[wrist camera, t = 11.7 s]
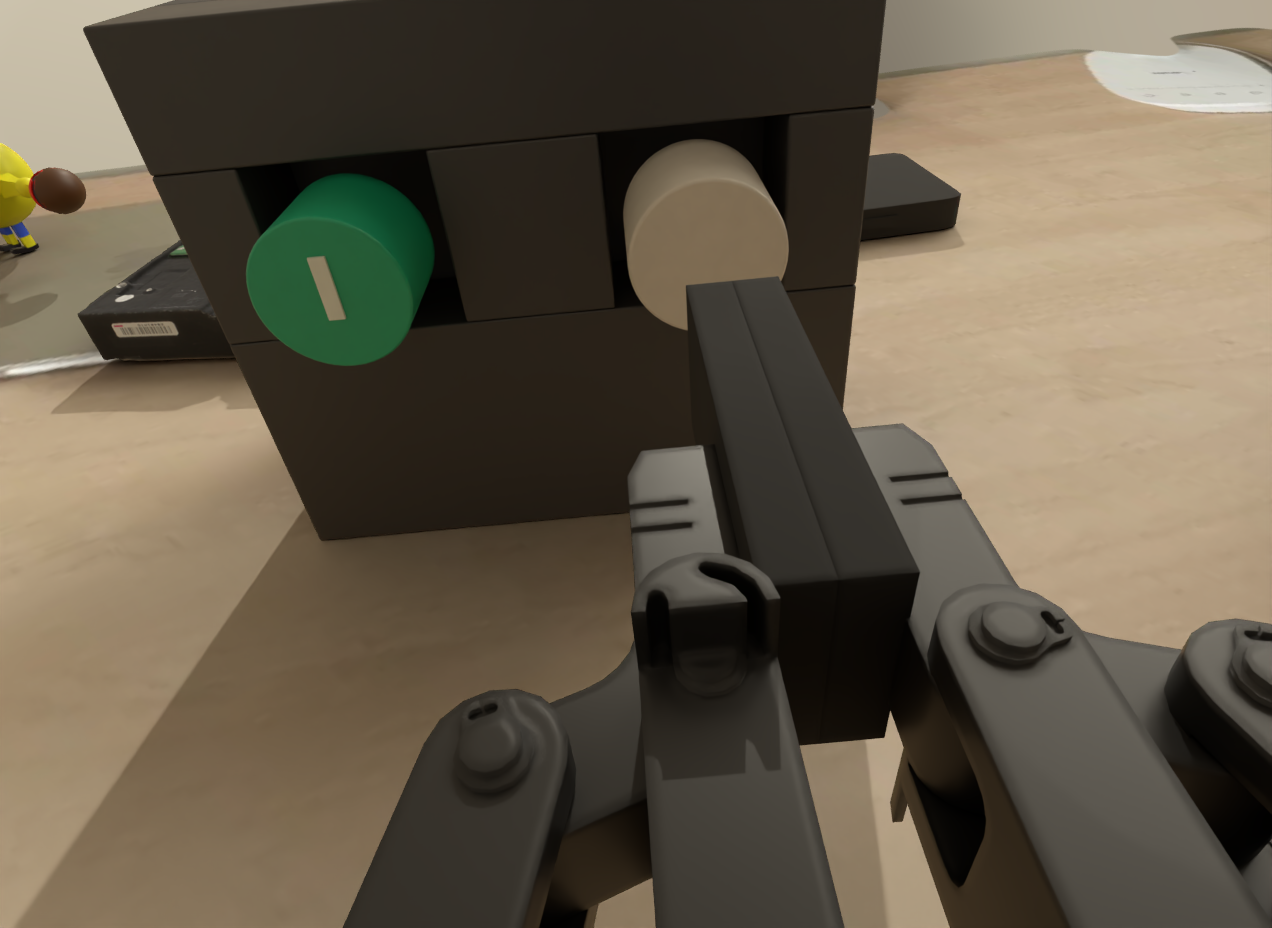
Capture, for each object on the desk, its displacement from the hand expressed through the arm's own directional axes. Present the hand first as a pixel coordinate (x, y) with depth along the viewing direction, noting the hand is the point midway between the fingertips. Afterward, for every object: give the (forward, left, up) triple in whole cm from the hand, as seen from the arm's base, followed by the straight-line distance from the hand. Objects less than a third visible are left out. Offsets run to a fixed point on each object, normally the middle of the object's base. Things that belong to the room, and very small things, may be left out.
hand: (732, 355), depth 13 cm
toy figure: (+54, -2, -9) cm, 54 cm away
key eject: (+3, -4, -2) cm, 5 cm away
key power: (+9, +1, -2) cm, 10 cm away
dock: (+10, -5, -9) cm, 14 cm away
